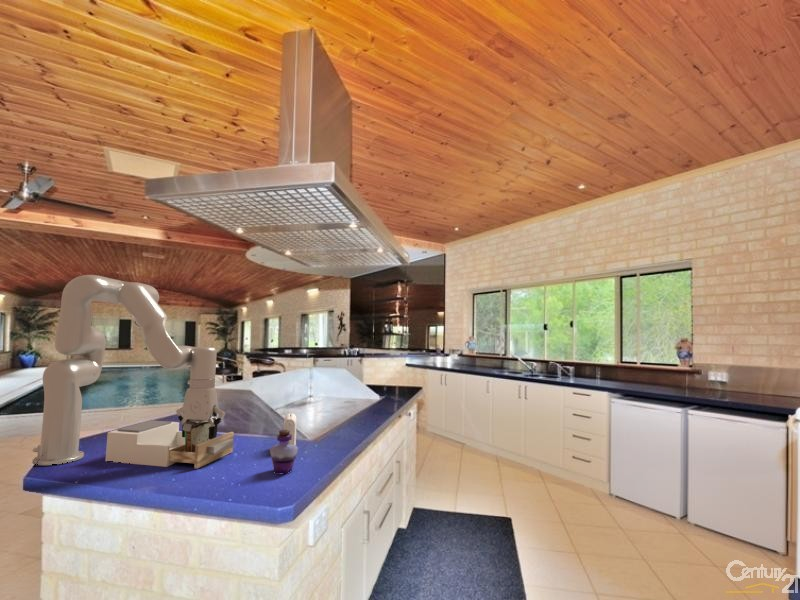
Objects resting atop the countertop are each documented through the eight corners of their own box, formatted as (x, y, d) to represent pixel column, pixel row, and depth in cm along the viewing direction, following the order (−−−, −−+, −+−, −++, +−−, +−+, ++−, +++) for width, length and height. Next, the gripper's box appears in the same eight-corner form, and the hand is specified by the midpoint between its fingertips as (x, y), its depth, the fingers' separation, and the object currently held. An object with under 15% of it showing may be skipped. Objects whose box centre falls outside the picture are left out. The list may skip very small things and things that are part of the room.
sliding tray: (239, 452, 141) (240, 432, 142) (204, 469, 123) (205, 446, 124) (202, 449, 144) (203, 429, 145) (162, 465, 126) (164, 443, 127)
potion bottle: (288, 465, 130) (289, 426, 131) (303, 471, 124) (304, 430, 125) (262, 471, 124) (264, 430, 125) (277, 478, 118) (278, 435, 119)
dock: (205, 450, 144) (207, 422, 145) (166, 466, 126) (168, 434, 127) (150, 446, 148) (152, 418, 149) (105, 461, 130) (107, 430, 131)
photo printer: (294, 452, 143) (296, 416, 144) (281, 453, 142) (283, 416, 143) (296, 444, 153) (297, 411, 154) (284, 445, 152) (285, 411, 153)
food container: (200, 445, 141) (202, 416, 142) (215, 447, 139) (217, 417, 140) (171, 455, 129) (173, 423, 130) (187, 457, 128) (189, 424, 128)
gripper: (171, 384, 134) (167, 438, 133) (218, 386, 131) (215, 442, 129) (187, 382, 141) (183, 432, 140) (232, 384, 138) (229, 436, 137)
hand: (199, 437), depth 135 cm, fingers open, 9 cm apart
